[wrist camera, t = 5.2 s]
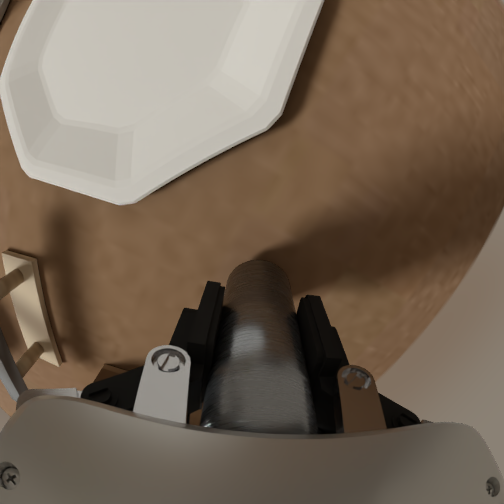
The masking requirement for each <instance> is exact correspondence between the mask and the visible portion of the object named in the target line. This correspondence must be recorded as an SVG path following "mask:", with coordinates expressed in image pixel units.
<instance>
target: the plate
mask: <svg viewBox="0 0 504 504" xmlns="http://www.w3.org/2000/svg"><path fill="white" fill-rule="evenodd" d="M323 3H324V0H33V1H32V3H31V5H30V7H29V8H28V10H27V12H26V14H25V16H24V18H23V21H22V23H21V25H20V27H19V29H18V31H17V34H16V36H15V38H14V41H13V43H12V46H11V48H10V51H9V54H8V56H7V59H6V62H5V65H4V68H3V71H2V74H1V77H0V96H1V101H2V105H3V109H4V113H5V117H6V121H7V125H8V128H9V132H10V135H11V138H12V141H13V145H14V148H15V151H16V154H17V156H18V159H19V162H20V165H21V168H22V169H23V170H24V171H25V173H26V174H27V175H28V176H29V177H31V178H34V179H37V180H40V181H44V182H47V183H50V184H53V185H56V186H59V187H63V188H66V189H69V190H72V191H75V192H79V193H82V194H85V195H88V196H91V197H94V198H98V199H101V200H104V201H107V202H110V203H113V204H117V205H126V204H133V203H136V202H138V201H139V200H141V199H143V198H144V197H146V196H147V195H149V194H150V193H152V192H154V191H155V190H157V189H159V188H160V187H162V186H163V185H165V184H167V183H168V182H170V181H172V180H173V179H175V178H177V177H179V176H180V175H182V174H184V173H185V172H187V171H189V170H191V169H192V168H194V167H196V166H198V165H200V164H201V163H203V162H205V161H207V160H209V159H211V158H212V157H214V156H216V155H218V154H220V153H222V152H224V151H226V150H228V149H230V148H232V147H234V146H235V145H237V144H239V143H241V142H243V141H246V140H248V139H250V138H252V137H254V136H256V135H258V134H260V133H262V132H264V131H266V130H268V129H269V128H270V127H271V126H272V125H273V124H274V123H275V122H276V121H277V120H278V118H279V117H280V116H281V115H282V113H283V111H284V108H285V105H286V102H287V100H288V97H289V94H290V91H291V88H292V86H293V83H294V80H295V78H296V75H297V72H298V69H299V67H300V64H301V61H302V59H303V56H304V53H305V50H306V48H307V45H308V42H309V40H310V37H311V34H312V32H313V29H314V27H315V24H316V21H317V19H318V16H319V13H320V11H321V8H322V6H323Z"/></svg>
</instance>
